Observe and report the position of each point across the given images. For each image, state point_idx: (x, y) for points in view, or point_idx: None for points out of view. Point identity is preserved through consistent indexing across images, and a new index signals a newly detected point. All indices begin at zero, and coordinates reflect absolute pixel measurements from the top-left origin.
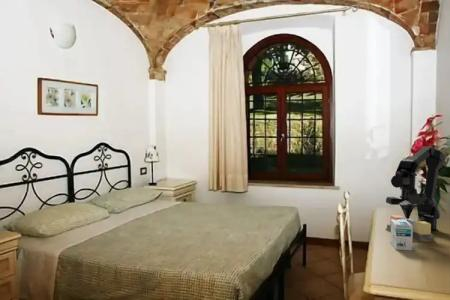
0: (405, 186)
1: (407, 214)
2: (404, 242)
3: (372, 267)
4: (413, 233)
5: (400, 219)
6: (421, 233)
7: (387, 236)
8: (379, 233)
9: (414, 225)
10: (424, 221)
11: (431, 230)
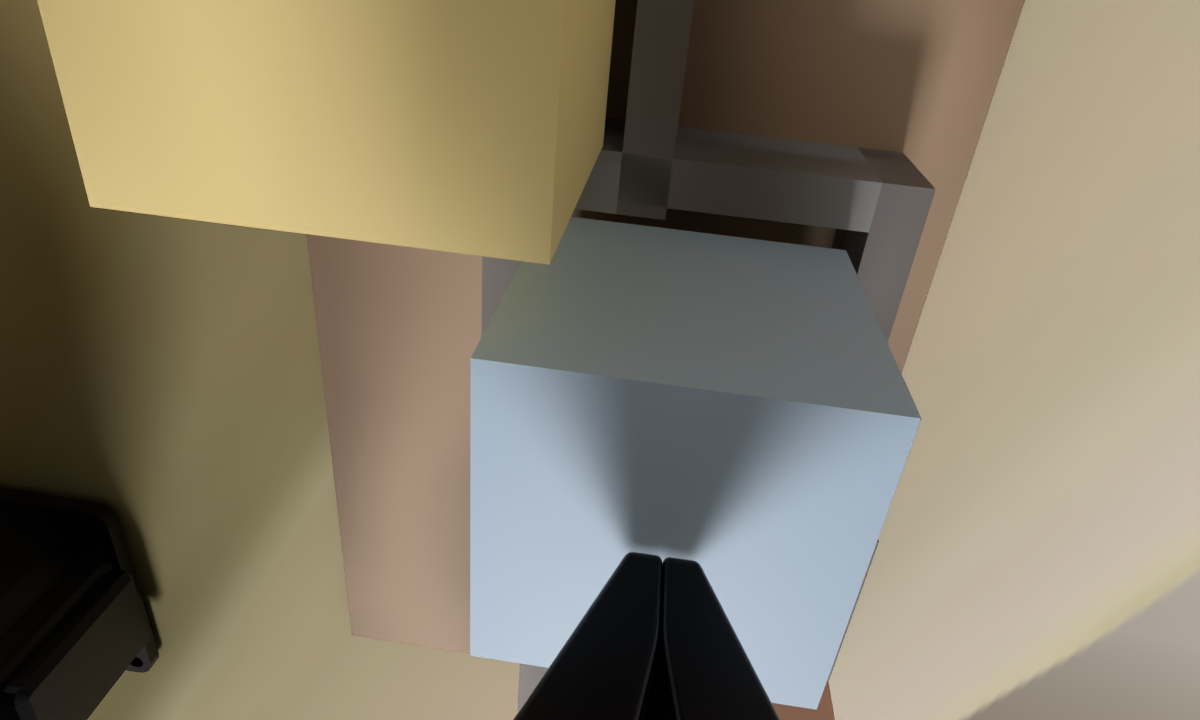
0: None
1: (715, 708)
2: None
3: None
4: (686, 61)
5: (825, 657)
6: None
7: (1164, 324)
8: (1122, 534)
9: (524, 280)
10: (103, 207)
11: (12, 492)
